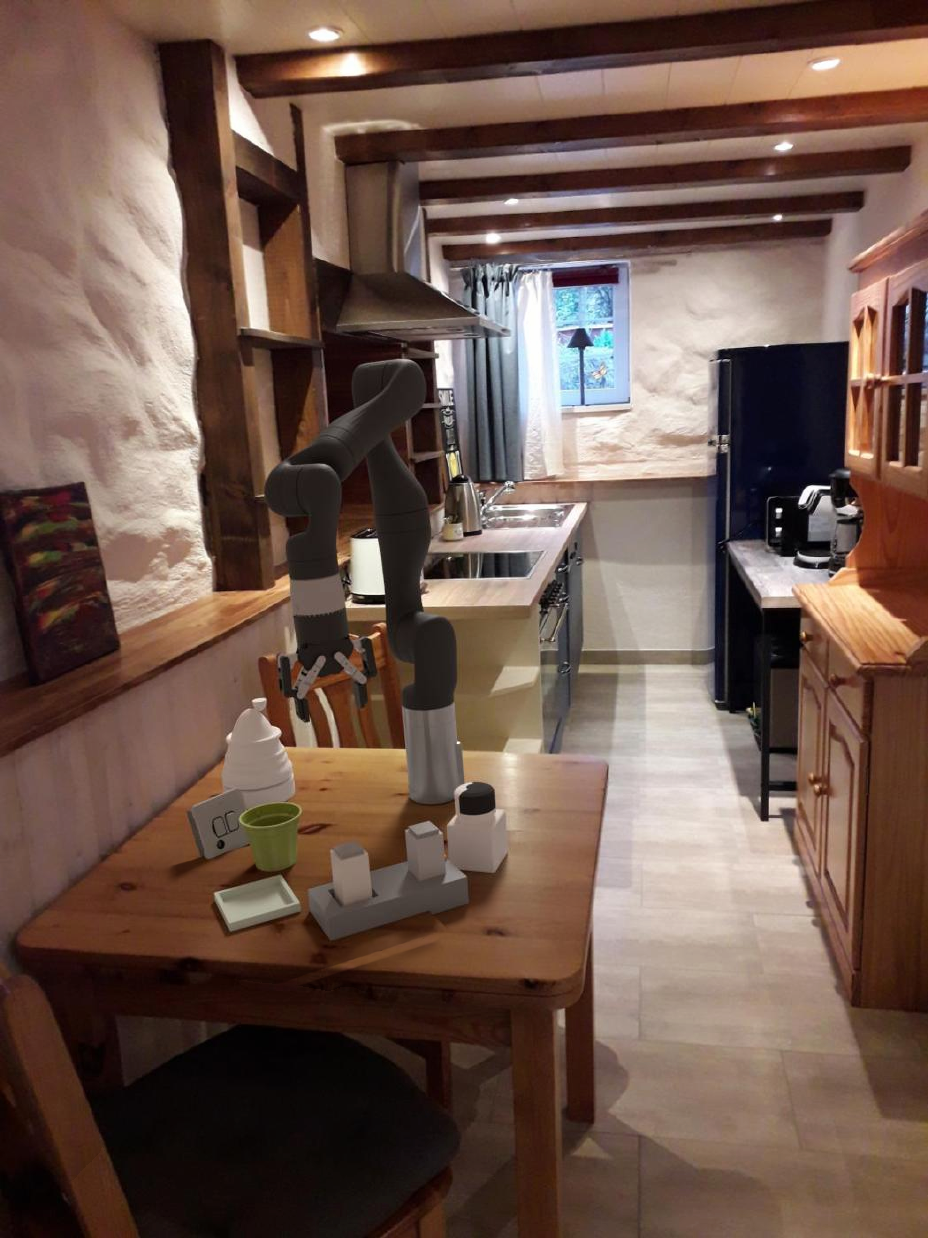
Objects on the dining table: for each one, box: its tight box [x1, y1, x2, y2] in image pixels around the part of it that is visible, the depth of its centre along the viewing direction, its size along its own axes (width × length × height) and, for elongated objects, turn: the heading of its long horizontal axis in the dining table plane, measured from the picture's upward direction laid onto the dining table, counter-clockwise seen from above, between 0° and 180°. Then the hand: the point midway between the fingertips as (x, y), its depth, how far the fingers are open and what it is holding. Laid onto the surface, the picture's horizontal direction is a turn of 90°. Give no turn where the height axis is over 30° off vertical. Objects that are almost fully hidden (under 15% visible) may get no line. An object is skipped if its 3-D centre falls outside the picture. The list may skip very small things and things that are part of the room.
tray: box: [213, 874, 302, 933], centre depth 133 cm, size 10×10×2 cm
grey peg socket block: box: [307, 820, 470, 942], centre depth 130 cm, size 20×9×11 cm, turn 116°
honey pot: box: [221, 697, 296, 809], centre depth 173 cm, size 13×13×18 cm
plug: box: [329, 840, 372, 907], centre depth 128 cm, size 4×4×10 cm
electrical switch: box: [186, 788, 250, 860], centre depth 153 cm, size 9×5×9 cm, turn 141°
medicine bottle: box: [446, 781, 509, 874], centre depth 142 cm, size 7×7×12 cm
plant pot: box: [239, 801, 303, 872], centre depth 145 cm, size 9×9×9 cm
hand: (333, 714), depth 138 cm, fingers open, 8 cm apart
